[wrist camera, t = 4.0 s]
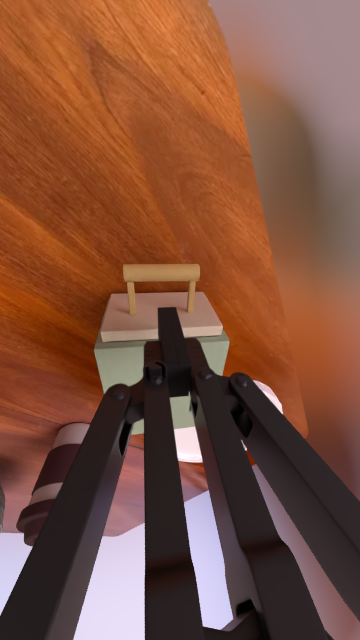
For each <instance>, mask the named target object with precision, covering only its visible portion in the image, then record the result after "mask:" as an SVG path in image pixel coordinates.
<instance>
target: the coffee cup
mask: <svg viewBox="0 0 360 640" xmlns="http://www.w3.org/2000/svg"><path fill="white" fill-rule="evenodd" d="M89 426H90V425H89V424H86V423H72V424H69V425H66V426H64V427H63V428H61V429H60V431H59V432H58V435H57V437H56V440H55V442H54V444H53V447H52V449H51V451H50V452H49V454H48V456H47V458H46V460H45V463H44V465H43V468H42V470H41V472H40V475H39V477H38V480H37V482H36V484H35V487H34V489H33V492H32V498H31V500H30V503H29V505H28V506H27V507H26V508H24V509H23V510H22V512H21V514H20V516H19V519H18V522H17V524H16V527H17V529H18V530H19V531H20V532H23V533H24V542H25V544H27V545H29V546H33V545H34V543H35V541H36V539H37V537H38V535H39V533H40V530H41V528H42V526H43V524H44V522H45V520H46V518H47V515H48V513H49V511H50V509H51V507H52V505H53V503H54V501H55V498H56V496H57V494H58V492H59V490H60V488H61V486H62V484H63V481H64V479H65V477H66V475H67V473H68V471H69V469H70V467H71V464H72V462H73V460H74V458H75V456H76V454H77V452H78V450H79V447H80V445H81V443H82V441H83V439H84V437H85V435H86V433H87V430H88V428H89Z"/></svg>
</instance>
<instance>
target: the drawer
mask: <svg viewBox="0 0 360 640" xmlns="http://www.w3.org/2000/svg"><path fill="white" fill-rule="evenodd" d="M123 277H124V281H125V282H127V289H128V293H125V294H111V297H110V300H109V304H108V307H107V311H106V314H105V318H104V321H103V325H102V328H101V337H102V342H112V341H115V342H128V341H145V340H158V308H159V307H176V309H177V313H178V316H179V320H180V323H181V327H182V330H183V334H184V338H196V337H207V336H216V335H221V333H222V328H223V325H222V324H221V322H220V320H219V318H218V317H217V315H216V313H215V311H214V310H213V308H212V306H211V304H210V303H209V301H208V299H207V297H206V296H205V294H204V292H195V284H196V281H198V280H199V277H200V267H199V264H123ZM149 281H189V285H188V292H170V293H135V291H134V282H149Z"/></svg>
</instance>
